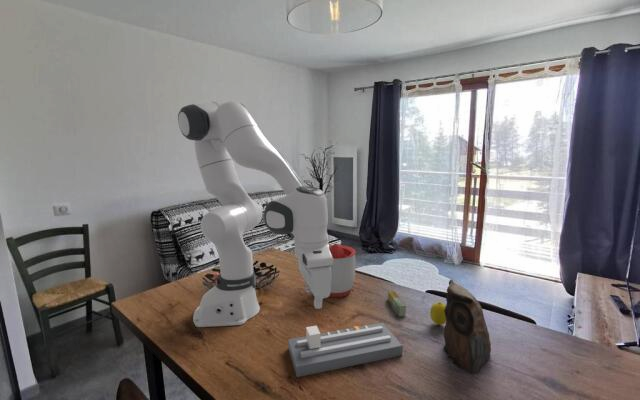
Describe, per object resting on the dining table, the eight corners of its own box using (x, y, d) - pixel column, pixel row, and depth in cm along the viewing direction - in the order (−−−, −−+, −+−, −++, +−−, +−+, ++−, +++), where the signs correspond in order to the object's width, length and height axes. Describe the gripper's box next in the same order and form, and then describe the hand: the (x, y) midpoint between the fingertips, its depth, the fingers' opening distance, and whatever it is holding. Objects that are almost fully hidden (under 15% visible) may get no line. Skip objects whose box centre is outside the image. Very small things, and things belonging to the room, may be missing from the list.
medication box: (405, 316, 110) (406, 305, 109) (398, 317, 110) (398, 306, 109) (393, 300, 122) (394, 290, 121) (386, 300, 121) (387, 290, 121)
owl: (474, 378, 81) (480, 305, 77) (428, 355, 90) (431, 288, 86) (493, 355, 89) (499, 288, 85) (448, 336, 98) (452, 274, 95)
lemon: (449, 330, 101) (450, 307, 100) (430, 329, 102) (432, 305, 101) (446, 321, 106) (447, 298, 105) (428, 319, 107) (429, 297, 106)
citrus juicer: (315, 281, 138) (314, 236, 134) (356, 283, 135) (356, 238, 132) (309, 299, 122) (308, 249, 119) (354, 301, 120) (355, 250, 117)
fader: (309, 352, 86) (309, 335, 85) (306, 343, 90) (306, 327, 89) (320, 350, 87) (320, 333, 86) (316, 341, 91) (316, 325, 90)
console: (296, 377, 82) (296, 363, 81) (288, 348, 93) (287, 335, 93) (402, 355, 90) (402, 342, 89) (382, 331, 101) (382, 319, 101)
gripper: (292, 239, 92) (294, 284, 95) (309, 264, 73) (311, 320, 75) (313, 237, 94) (314, 281, 96) (335, 260, 75) (336, 315, 77)
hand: (313, 298), depth 86 cm, fingers open, 8 cm apart
